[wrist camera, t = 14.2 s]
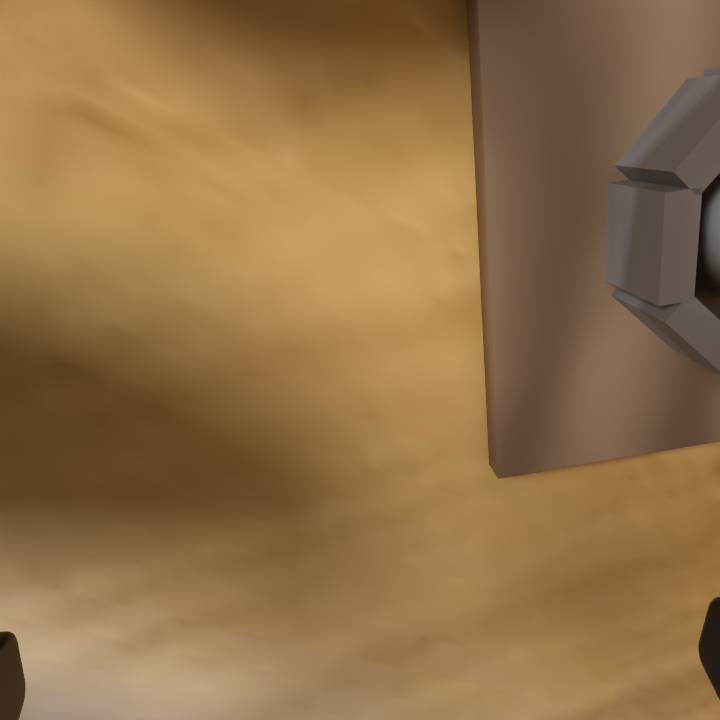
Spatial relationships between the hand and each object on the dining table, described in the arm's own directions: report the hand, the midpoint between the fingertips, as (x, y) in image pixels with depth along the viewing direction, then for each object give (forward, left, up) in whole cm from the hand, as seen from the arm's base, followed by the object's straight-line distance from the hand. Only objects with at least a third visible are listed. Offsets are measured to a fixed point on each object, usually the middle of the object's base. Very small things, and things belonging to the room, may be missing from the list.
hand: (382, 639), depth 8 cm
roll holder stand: (+13, +4, -13) cm, 19 cm away
